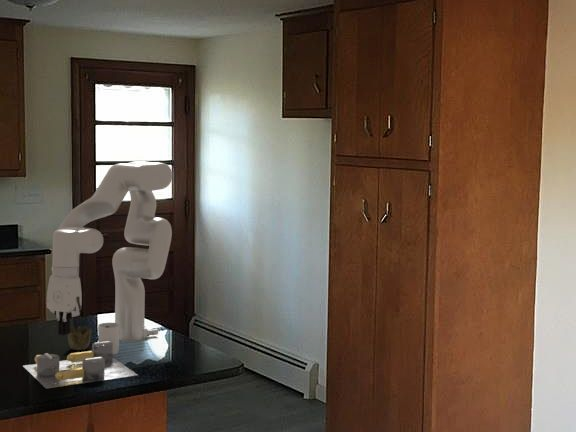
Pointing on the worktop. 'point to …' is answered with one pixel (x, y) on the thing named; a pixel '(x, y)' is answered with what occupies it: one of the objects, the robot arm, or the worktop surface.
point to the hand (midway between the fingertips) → (64, 333)
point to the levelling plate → (111, 372)
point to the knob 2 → (94, 352)
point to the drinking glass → (109, 334)
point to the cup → (79, 338)
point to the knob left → (85, 370)
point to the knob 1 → (47, 365)
